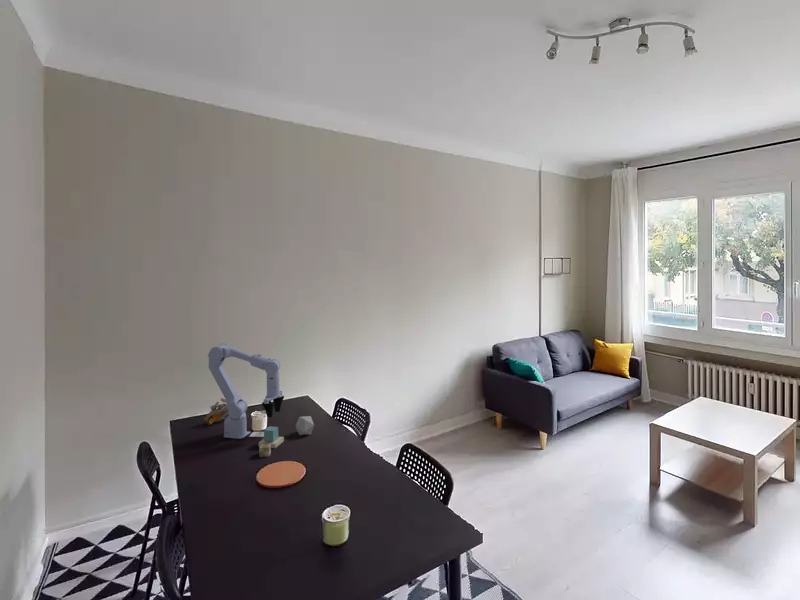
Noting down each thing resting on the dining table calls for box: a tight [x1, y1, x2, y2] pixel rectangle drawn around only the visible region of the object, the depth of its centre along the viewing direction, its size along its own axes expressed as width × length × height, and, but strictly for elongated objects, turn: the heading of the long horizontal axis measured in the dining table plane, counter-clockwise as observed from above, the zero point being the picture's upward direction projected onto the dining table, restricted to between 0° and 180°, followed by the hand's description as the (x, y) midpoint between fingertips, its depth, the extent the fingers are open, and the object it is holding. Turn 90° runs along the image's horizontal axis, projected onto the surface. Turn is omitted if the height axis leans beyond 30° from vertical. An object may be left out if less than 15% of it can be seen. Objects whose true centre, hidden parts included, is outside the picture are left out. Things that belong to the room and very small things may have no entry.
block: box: [258, 443, 272, 458], centre depth 178 cm, size 4×4×4 cm
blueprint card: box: [248, 431, 264, 438], centre depth 200 cm, size 8×6×1 cm
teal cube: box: [263, 426, 279, 442], centre depth 189 cm, size 4×4×5 cm
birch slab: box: [258, 435, 285, 449], centre depth 189 cm, size 8×8×2 cm
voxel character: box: [203, 398, 228, 426], centre depth 215 cm, size 11×10×15 cm
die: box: [295, 415, 315, 436], centre depth 201 cm, size 8×9×10 cm
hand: (273, 414), depth 199 cm, fingers open, 7 cm apart
